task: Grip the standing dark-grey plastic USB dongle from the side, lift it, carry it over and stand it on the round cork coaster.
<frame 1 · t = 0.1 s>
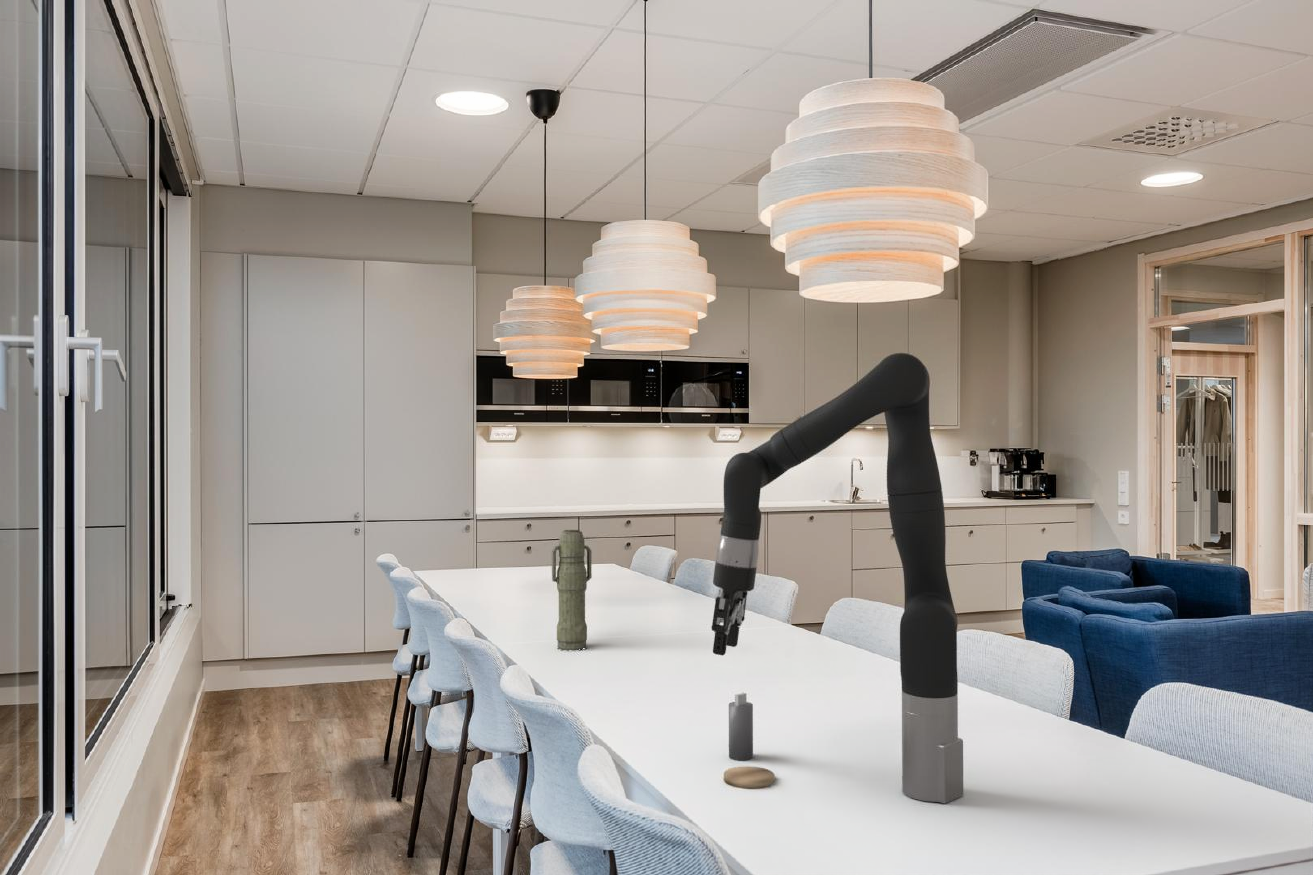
hand: (725, 649, 182), 22 cm above the table, tool pointing down, fingers open, 8 cm apart
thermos: (572, 648, 298), on the table
coaster: (748, 779, 178), on the table
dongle: (740, 756, 191), on the table
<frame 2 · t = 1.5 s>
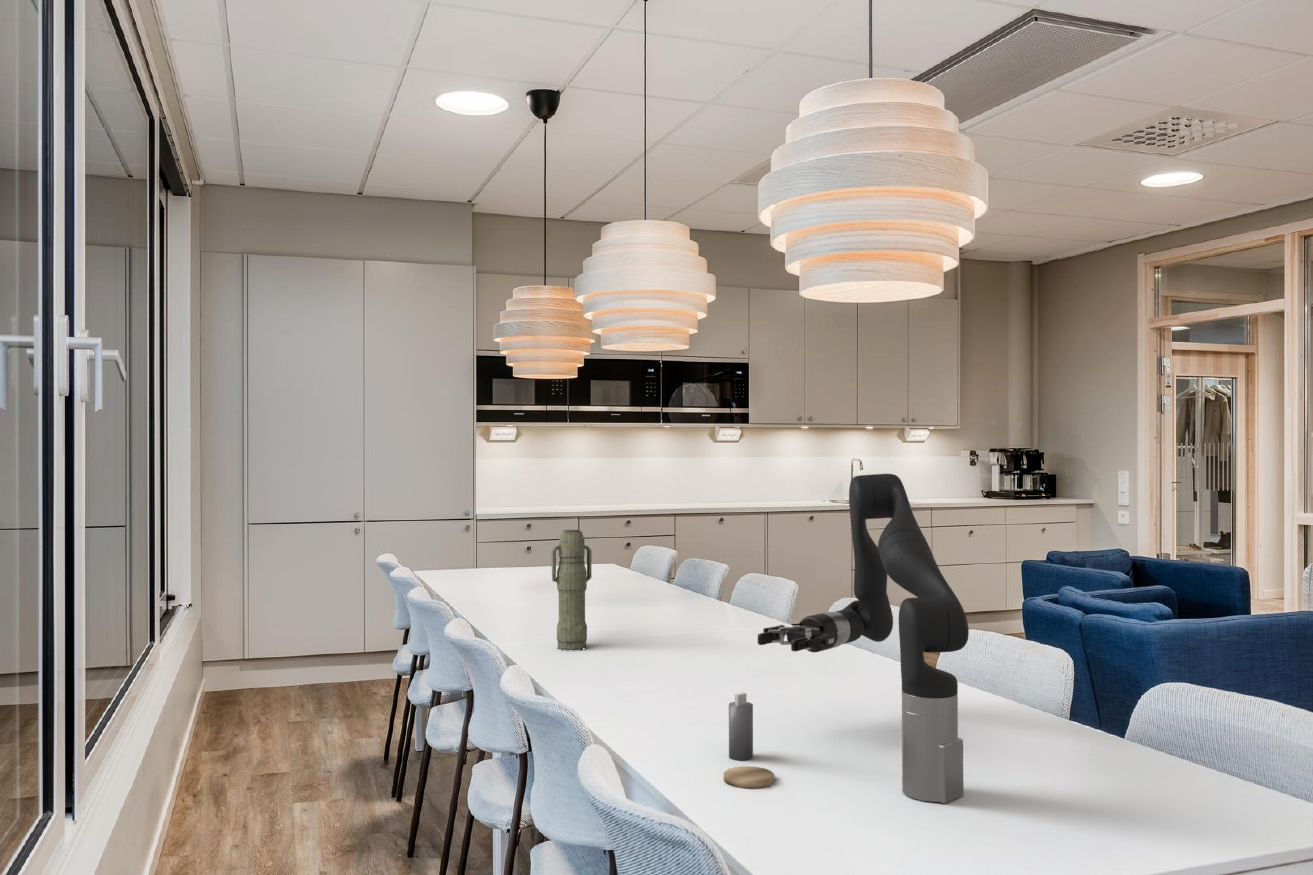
hand: (775, 642, 199), 20 cm above the table, tool horizontal, fingers open, 8 cm apart
nothing on the table moved.
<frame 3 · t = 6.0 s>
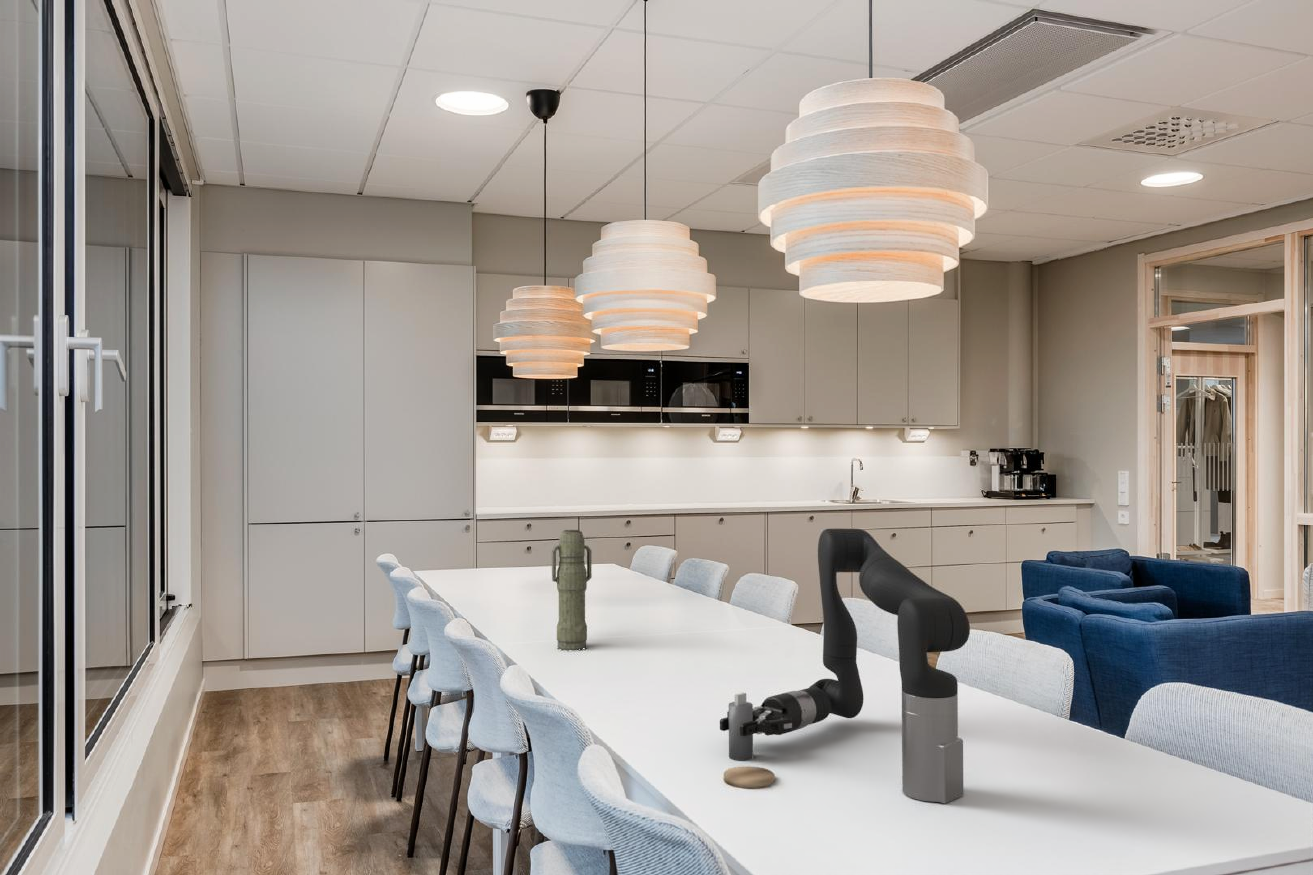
hand: (731, 727, 189), 6 cm above the table, tool horizontal, fingers closed on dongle, 4 cm apart
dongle: (740, 756, 191), on the table, touching gripper
everything else where it was.
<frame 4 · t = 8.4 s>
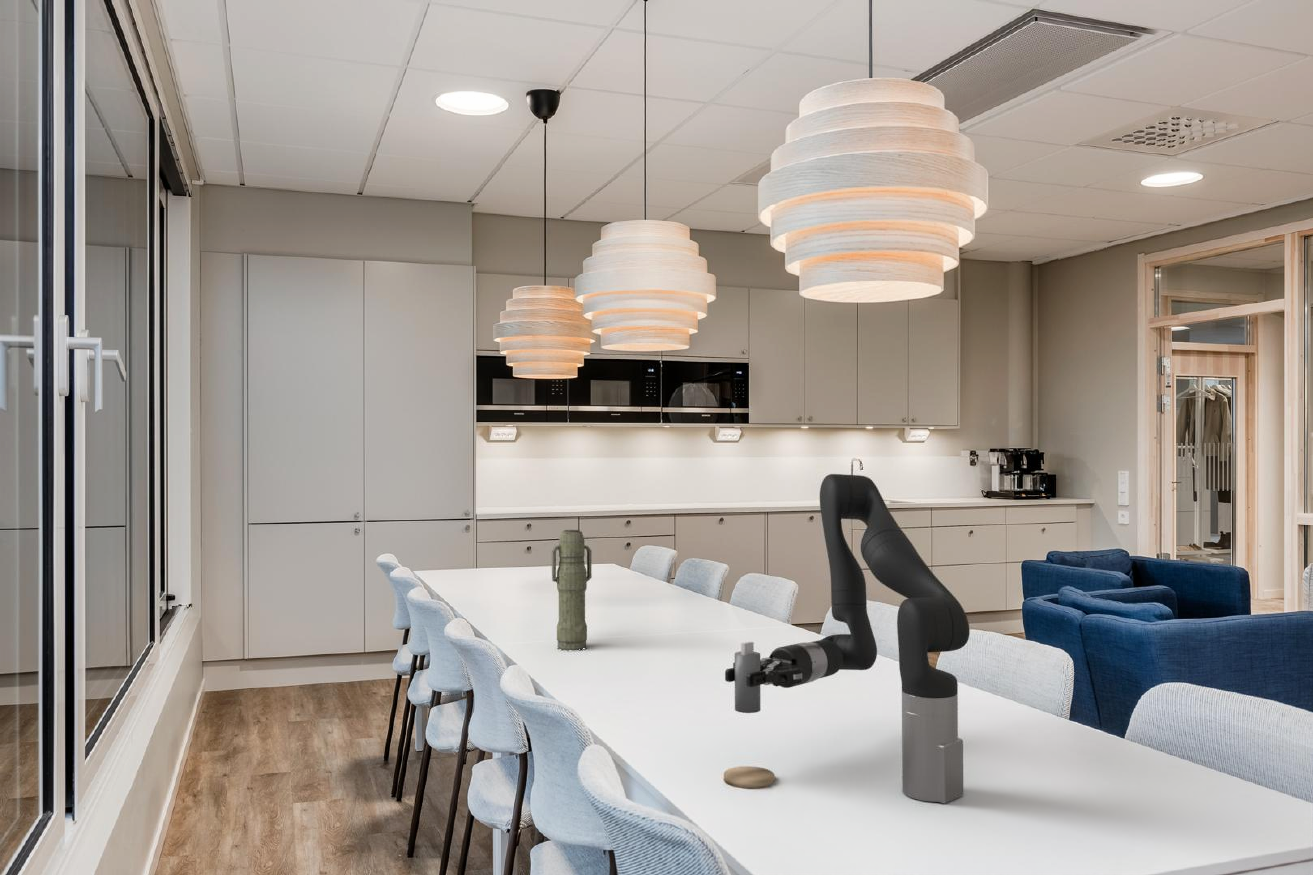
hand: (737, 678, 178), 18 cm above the table, tool horizontal, fingers closed on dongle, 4 cm apart
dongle: (747, 709, 180), point 12 cm above the table, touching gripper
everything else where it was.
when the fingers open (8 cm above the table, at t = 10.9 s): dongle stays where it is, resting on coaster.
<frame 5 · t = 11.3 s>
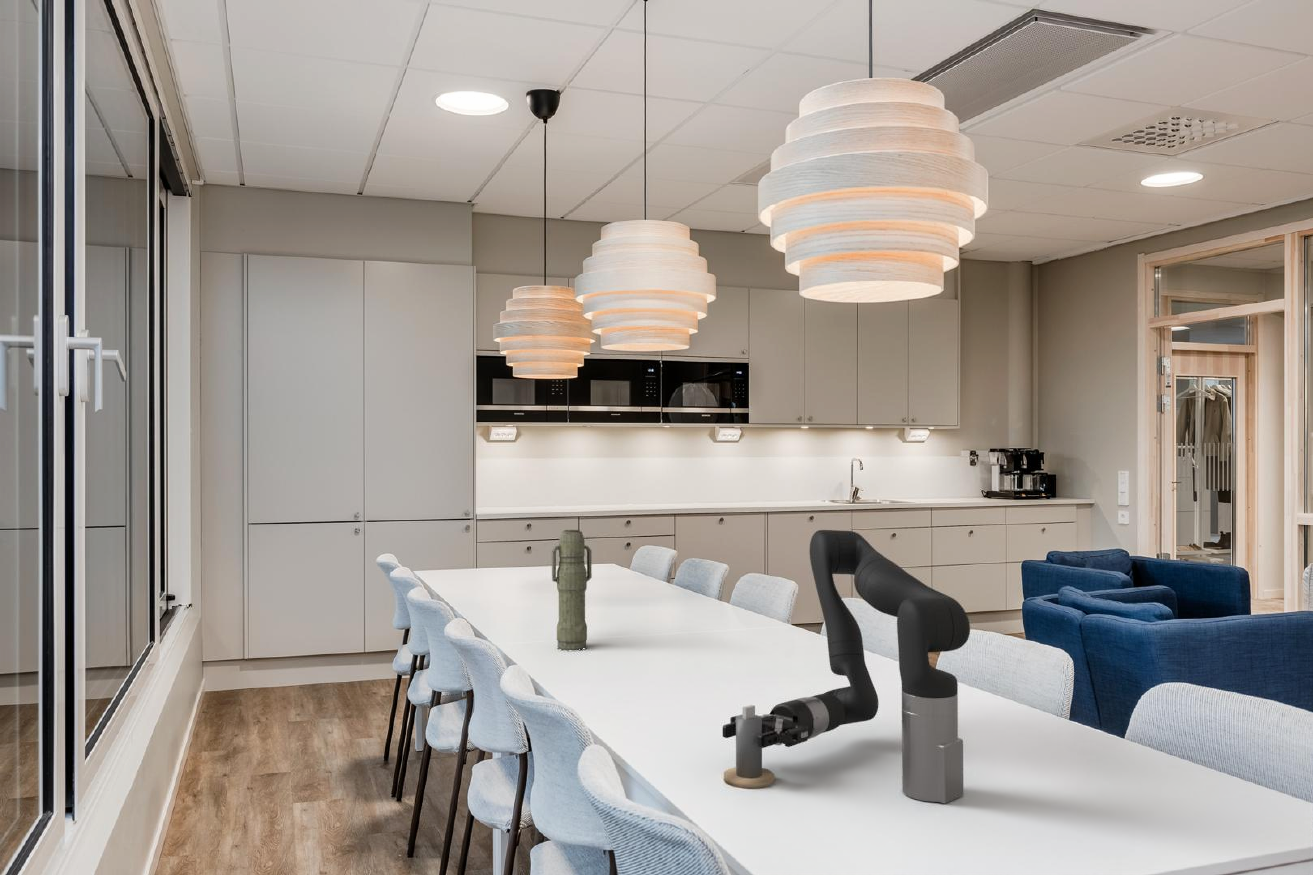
hand: (741, 736, 176), 8 cm above the table, tool horizontal, fingers open, 8 cm apart
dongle: (749, 774, 178), point 1 cm above the table, touching coaster
everything else where it was.
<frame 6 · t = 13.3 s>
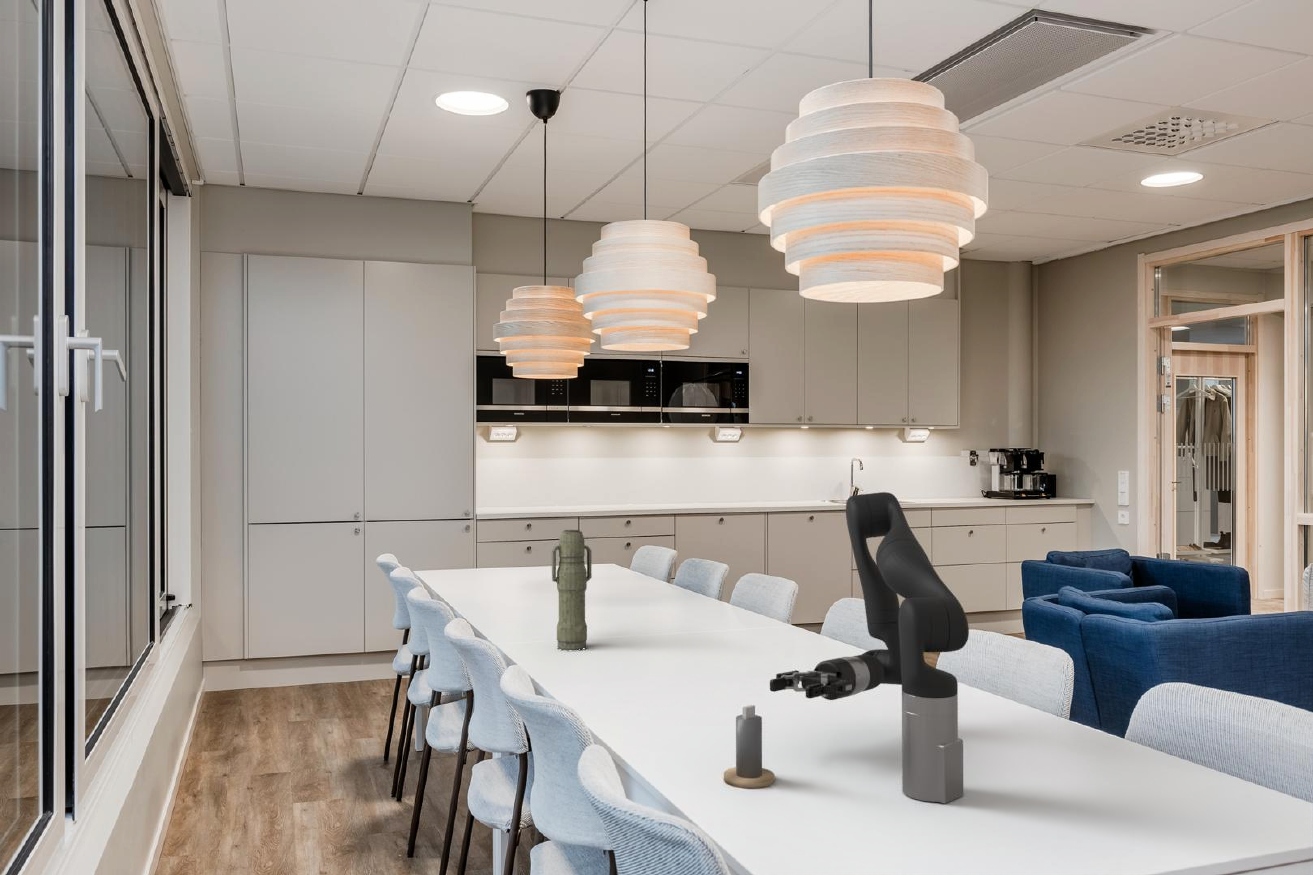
hand: (788, 689, 185), 14 cm above the table, tool horizontal, fingers open, 8 cm apart
nothing on the table moved.
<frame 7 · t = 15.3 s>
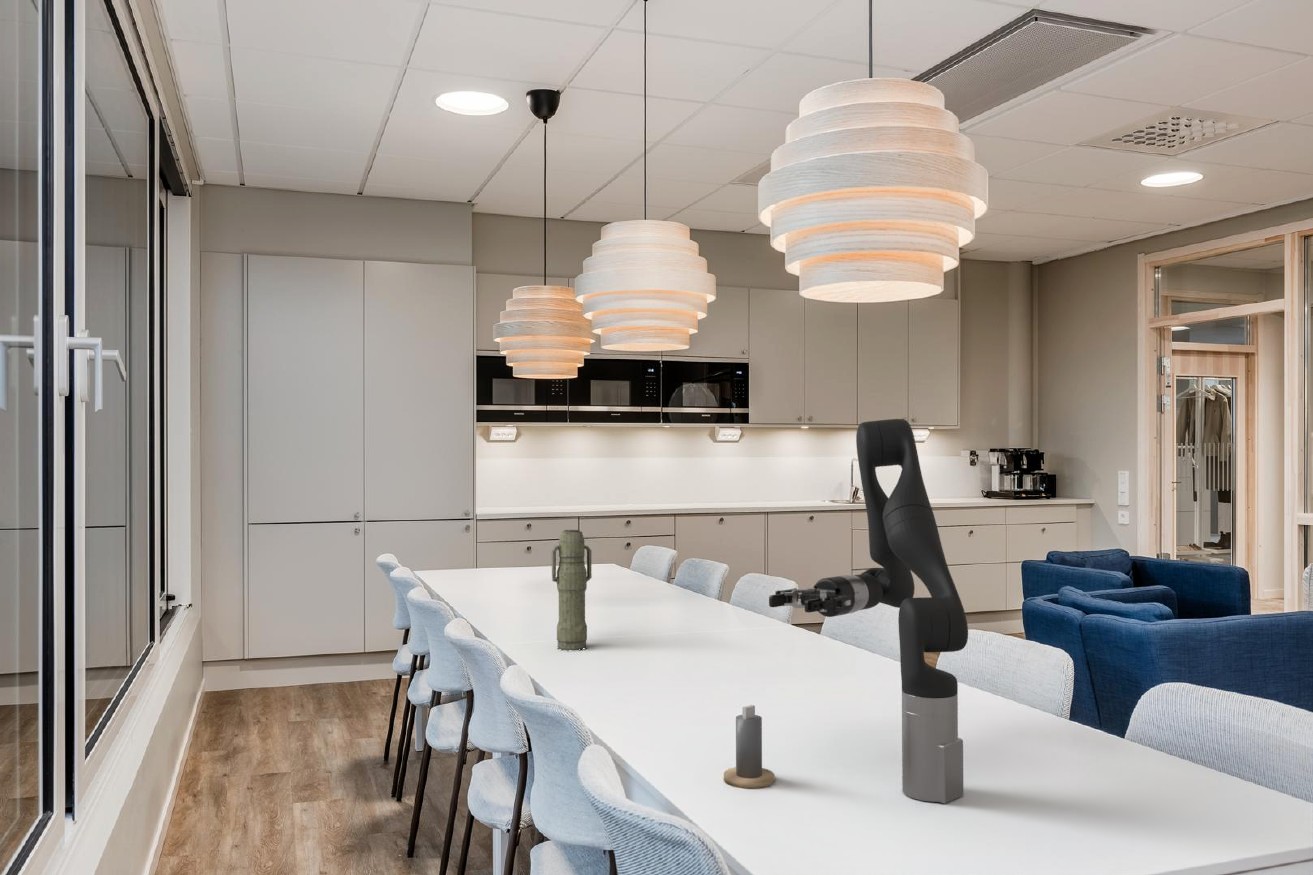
hand: (788, 604, 186), 30 cm above the table, tool horizontal, fingers open, 8 cm apart
nothing on the table moved.
at the end: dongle 0.1 cm from the coaster (horizontally); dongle tilted 0°; the gripper is holding nothing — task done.
